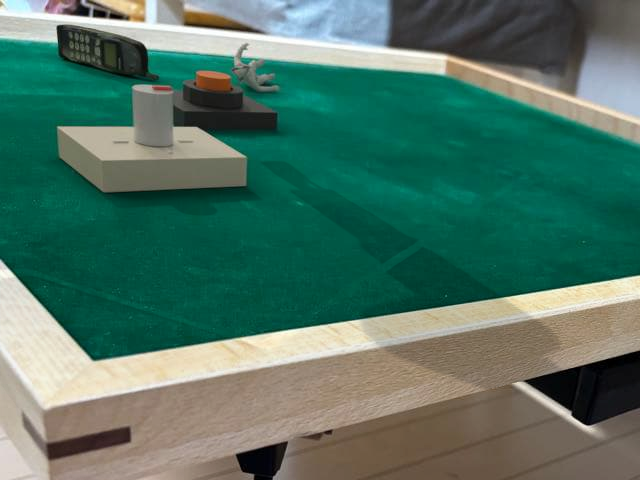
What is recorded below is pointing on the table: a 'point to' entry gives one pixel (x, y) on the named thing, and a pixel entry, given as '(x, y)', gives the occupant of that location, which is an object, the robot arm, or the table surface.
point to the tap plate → (150, 160)
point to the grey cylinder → (153, 115)
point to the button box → (220, 109)
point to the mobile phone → (103, 50)
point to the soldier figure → (251, 73)
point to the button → (213, 81)
